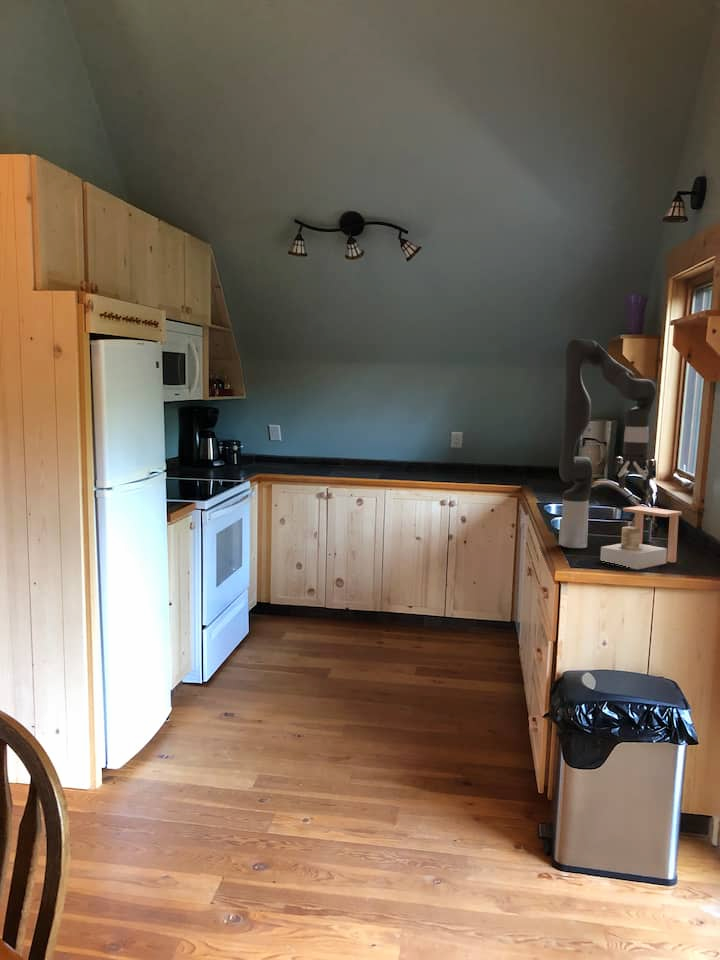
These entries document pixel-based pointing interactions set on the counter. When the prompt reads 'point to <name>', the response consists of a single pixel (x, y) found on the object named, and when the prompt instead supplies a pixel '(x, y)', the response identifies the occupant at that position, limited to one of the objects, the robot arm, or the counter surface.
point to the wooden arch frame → (672, 514)
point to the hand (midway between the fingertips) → (633, 489)
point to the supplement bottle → (646, 528)
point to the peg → (630, 538)
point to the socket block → (634, 556)
